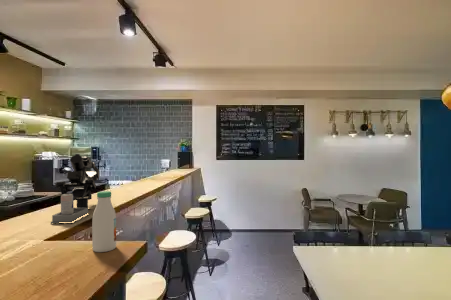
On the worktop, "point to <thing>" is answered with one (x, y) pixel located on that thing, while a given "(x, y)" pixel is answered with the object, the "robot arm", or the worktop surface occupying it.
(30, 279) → the worktop surface
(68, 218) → the drink carrier
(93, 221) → the milk bottle
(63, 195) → the energy drink
